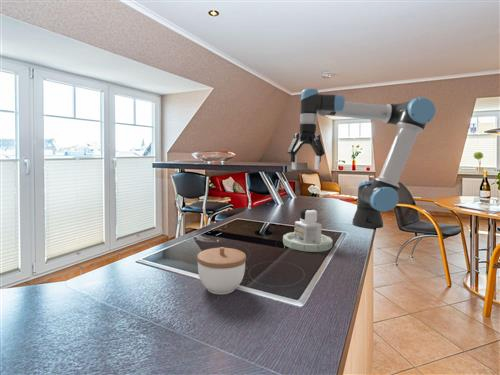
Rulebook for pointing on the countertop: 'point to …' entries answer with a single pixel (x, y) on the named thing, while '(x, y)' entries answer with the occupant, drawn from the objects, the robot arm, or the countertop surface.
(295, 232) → the container
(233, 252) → the lidded bowl
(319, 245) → the round tray
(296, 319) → the countertop surface
